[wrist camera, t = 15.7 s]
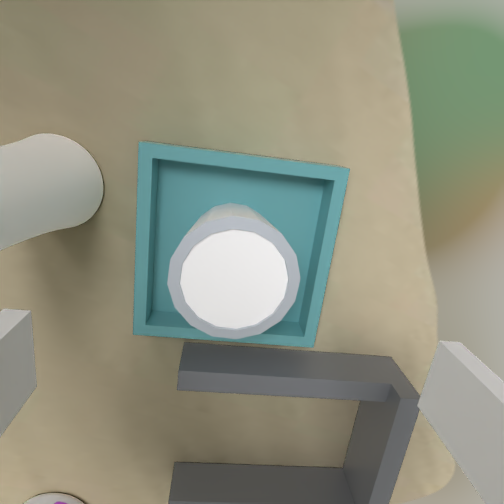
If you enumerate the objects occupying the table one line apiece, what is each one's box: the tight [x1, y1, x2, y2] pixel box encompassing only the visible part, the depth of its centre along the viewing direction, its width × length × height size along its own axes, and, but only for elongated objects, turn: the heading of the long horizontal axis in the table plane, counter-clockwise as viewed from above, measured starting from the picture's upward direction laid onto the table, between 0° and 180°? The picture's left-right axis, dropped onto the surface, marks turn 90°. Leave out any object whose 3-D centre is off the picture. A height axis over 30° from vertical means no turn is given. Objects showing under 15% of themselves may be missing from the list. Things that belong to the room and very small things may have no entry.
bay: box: [168, 342, 420, 504], centre depth 28 cm, size 17×14×5 cm
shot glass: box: [167, 203, 301, 339], centre depth 22 cm, size 7×7×7 cm
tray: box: [133, 141, 350, 347], centre depth 24 cm, size 13×13×2 cm
